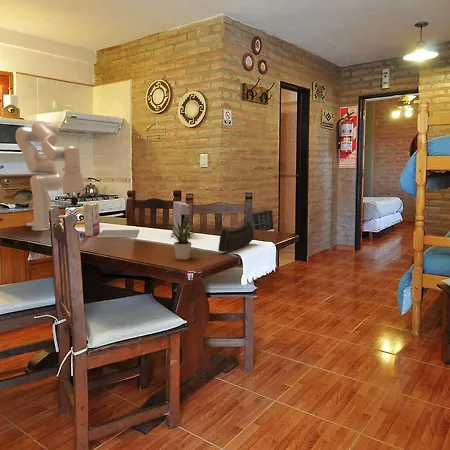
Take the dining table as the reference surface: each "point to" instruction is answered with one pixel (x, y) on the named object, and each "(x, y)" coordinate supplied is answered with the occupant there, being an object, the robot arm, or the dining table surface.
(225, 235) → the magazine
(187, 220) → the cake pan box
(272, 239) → the dining table surface
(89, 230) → the candy bar box
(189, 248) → the house plant
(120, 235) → the mat
